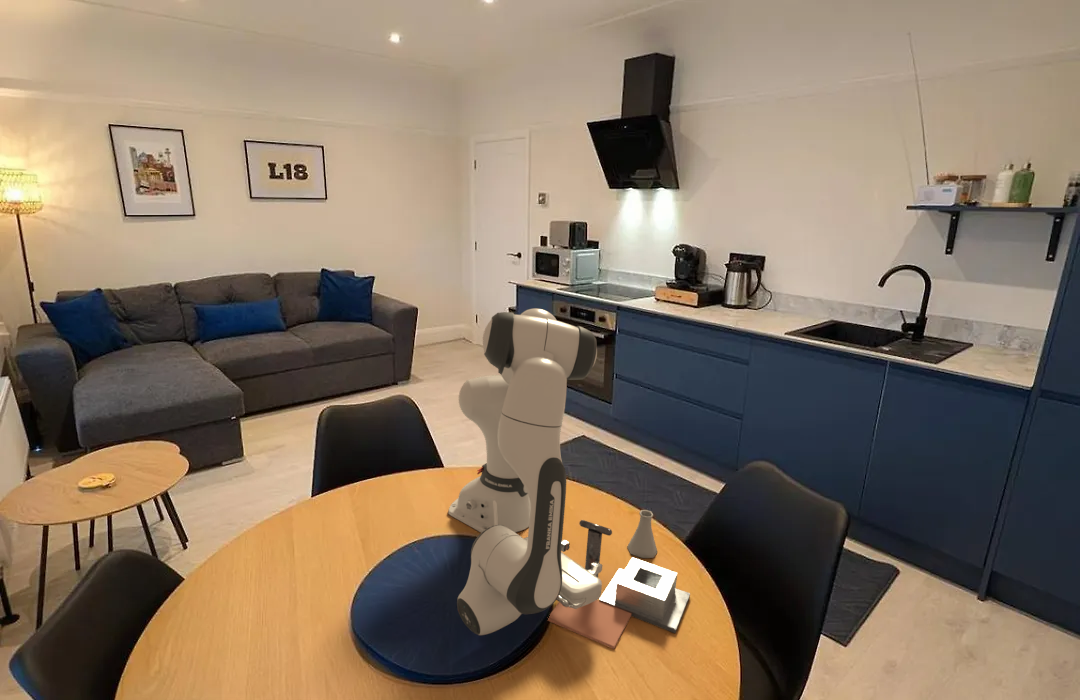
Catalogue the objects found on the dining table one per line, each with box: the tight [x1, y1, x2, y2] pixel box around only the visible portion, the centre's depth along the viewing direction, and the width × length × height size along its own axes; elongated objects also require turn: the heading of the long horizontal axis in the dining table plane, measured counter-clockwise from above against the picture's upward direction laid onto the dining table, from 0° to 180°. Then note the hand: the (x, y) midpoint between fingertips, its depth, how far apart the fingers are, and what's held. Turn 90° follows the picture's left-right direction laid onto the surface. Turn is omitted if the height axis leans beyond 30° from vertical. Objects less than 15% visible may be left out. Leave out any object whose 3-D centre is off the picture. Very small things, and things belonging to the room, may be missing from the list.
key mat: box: [547, 599, 632, 650], centre depth 109 cm, size 14×10×1 cm
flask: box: [627, 509, 658, 559], centre depth 131 cm, size 7×7×10 cm
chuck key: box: [579, 519, 613, 578], centre depth 118 cm, size 7×3×14 cm, turn 62°
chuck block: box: [598, 556, 691, 634], centre depth 115 cm, size 16×12×6 cm
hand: (583, 554), depth 116 cm, fingers open, 8 cm apart
